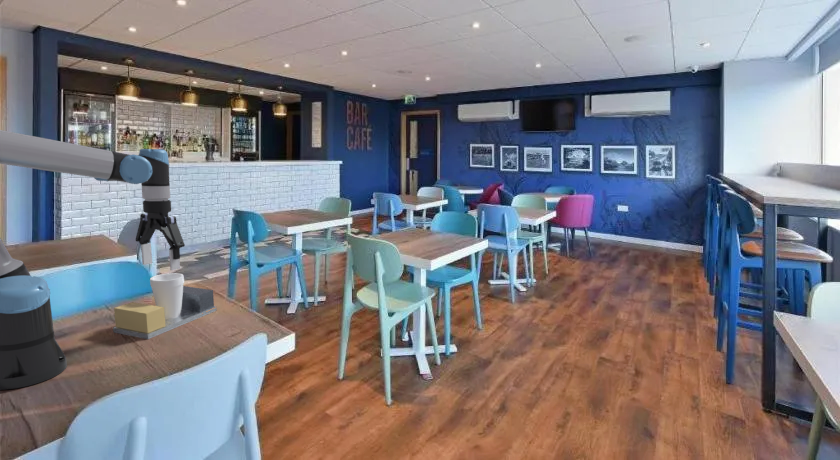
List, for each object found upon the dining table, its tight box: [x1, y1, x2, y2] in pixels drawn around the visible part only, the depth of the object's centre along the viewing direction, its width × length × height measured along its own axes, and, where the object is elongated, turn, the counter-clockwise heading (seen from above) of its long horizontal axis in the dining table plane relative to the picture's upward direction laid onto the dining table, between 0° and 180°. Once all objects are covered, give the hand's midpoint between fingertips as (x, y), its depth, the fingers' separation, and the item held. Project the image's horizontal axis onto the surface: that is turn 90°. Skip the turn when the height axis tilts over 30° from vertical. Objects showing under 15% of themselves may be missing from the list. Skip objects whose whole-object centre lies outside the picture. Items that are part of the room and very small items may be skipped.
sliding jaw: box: [113, 301, 166, 333], centre depth 134 cm, size 6×13×6 cm, turn 71°
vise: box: [112, 285, 217, 340], centre depth 143 cm, size 26×14×8 cm, turn 161°
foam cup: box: [149, 272, 185, 319], centre depth 144 cm, size 10×9×13 cm
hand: (161, 266), depth 140 cm, fingers open, 13 cm apart
